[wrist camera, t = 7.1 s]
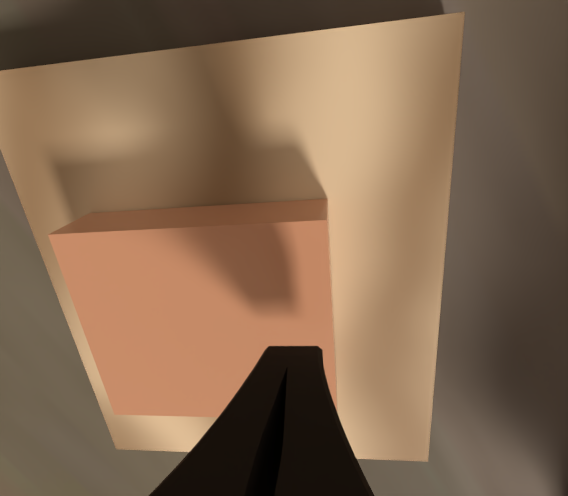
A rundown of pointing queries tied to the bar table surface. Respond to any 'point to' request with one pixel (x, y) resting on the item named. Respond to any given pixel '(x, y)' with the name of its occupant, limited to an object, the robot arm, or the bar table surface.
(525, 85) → the bar table surface
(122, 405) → the peach rectangular block
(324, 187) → the birch board
